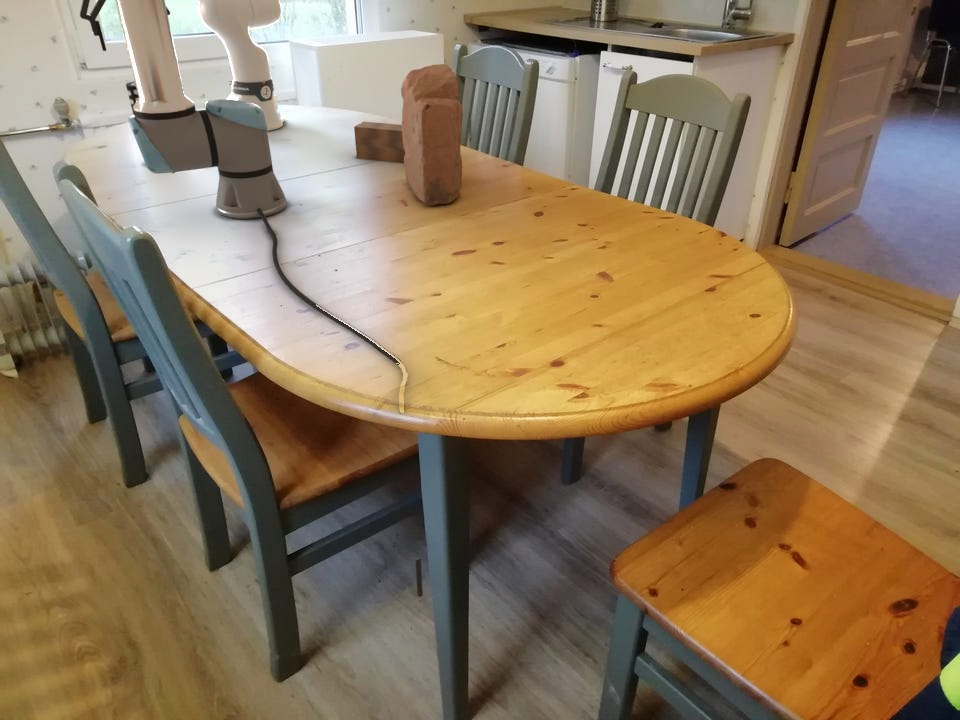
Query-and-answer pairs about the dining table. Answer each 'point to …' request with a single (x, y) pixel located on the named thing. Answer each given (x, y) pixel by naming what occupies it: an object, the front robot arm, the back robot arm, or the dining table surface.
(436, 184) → the stone
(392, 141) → the box
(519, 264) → the dining table surface
